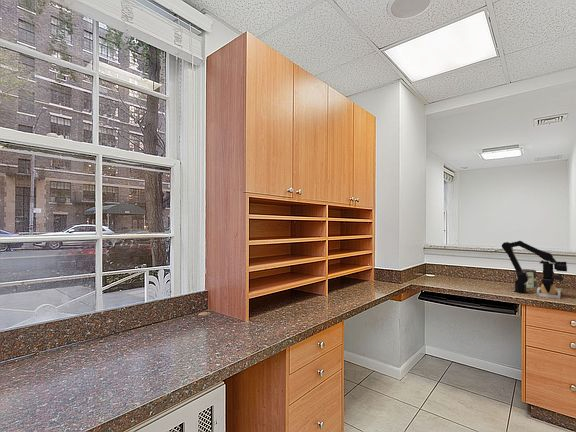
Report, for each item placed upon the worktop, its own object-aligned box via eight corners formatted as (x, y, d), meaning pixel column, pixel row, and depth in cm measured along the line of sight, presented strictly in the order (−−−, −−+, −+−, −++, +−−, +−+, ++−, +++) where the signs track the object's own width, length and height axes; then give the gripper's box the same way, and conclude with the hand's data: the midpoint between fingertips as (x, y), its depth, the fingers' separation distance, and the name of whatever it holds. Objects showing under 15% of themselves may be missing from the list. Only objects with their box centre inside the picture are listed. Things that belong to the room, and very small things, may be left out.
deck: (560, 298, 212) (559, 292, 212) (537, 295, 220) (536, 289, 220) (561, 292, 232) (560, 286, 233) (540, 289, 241) (539, 284, 241)
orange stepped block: (555, 294, 215) (555, 286, 215) (541, 292, 221) (541, 284, 221) (556, 293, 220) (556, 285, 220) (541, 291, 225) (541, 283, 225)
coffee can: (530, 285, 258) (529, 269, 259) (539, 288, 248) (539, 270, 248) (517, 285, 258) (517, 269, 259) (527, 288, 248) (526, 270, 248)
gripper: (562, 272, 208) (563, 295, 208) (563, 269, 222) (563, 291, 222) (541, 271, 216) (542, 293, 216) (543, 268, 230) (543, 289, 229)
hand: (548, 291), depth 220 cm, fingers closed on orange stepped block, 6 cm apart
